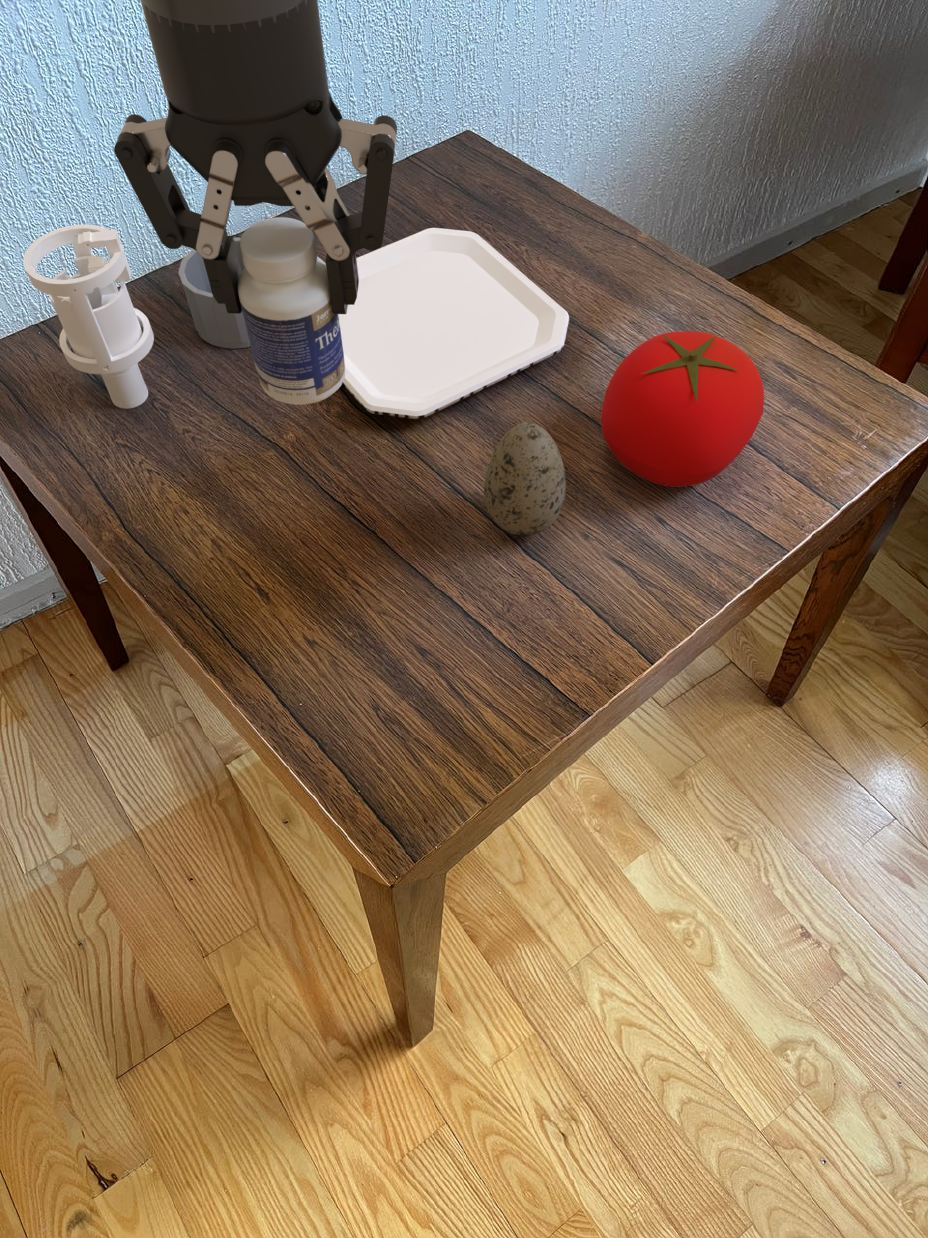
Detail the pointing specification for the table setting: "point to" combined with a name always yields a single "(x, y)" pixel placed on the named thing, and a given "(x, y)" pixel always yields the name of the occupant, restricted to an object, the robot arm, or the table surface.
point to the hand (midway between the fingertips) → (288, 303)
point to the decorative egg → (525, 481)
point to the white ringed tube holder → (96, 310)
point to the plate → (442, 323)
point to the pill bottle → (289, 312)
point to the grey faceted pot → (211, 305)
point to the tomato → (682, 407)
